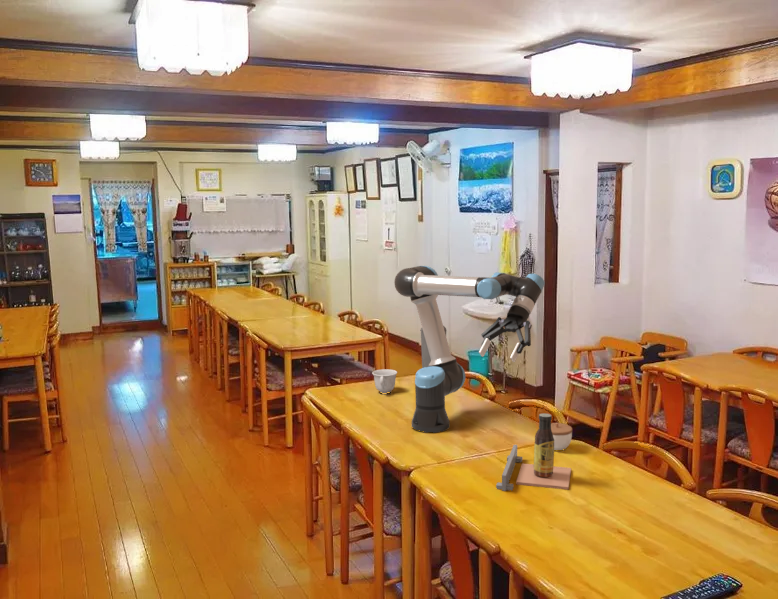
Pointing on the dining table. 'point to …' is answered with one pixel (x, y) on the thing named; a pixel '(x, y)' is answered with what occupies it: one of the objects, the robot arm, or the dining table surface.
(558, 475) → the terracotta tile
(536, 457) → the sauce bottle
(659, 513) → the dining table surface
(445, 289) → the robot arm
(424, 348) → the canister
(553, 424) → the lidded jar
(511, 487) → the grey wall
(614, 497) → the dining table surface
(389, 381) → the teacup
